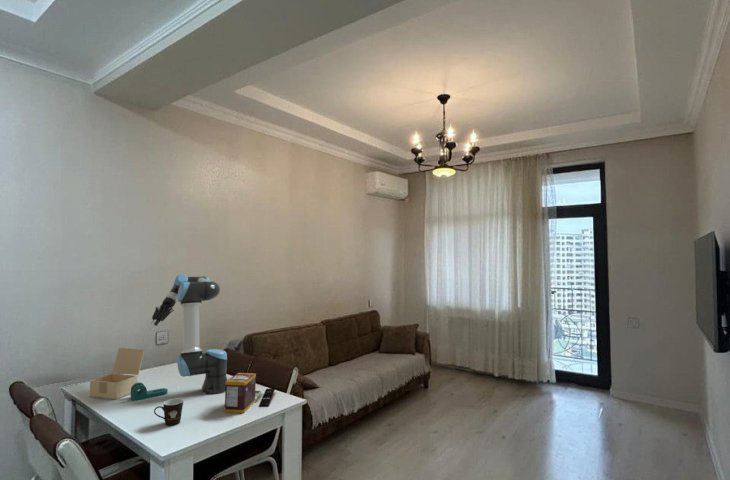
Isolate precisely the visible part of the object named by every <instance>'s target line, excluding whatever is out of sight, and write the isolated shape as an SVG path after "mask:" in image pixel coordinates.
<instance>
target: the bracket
mask: <svg viewBox="0 0 730 480" xmlns="http://www.w3.org/2000/svg"><path fill="white" fill-rule="evenodd" d="M168 391H169V390H168V388H166V387H164V388H163V387H161V388H156V389H150V390H147V387H146V385H145V384H144V383H143V382H138V381H137V383H135V384H134V385H133V386H132V387H131V394H130V397H129V398H130V400H131V401H132V402H136V401H140V400H145V399H152V398H157V397H162V396H166V395H168Z"/></svg>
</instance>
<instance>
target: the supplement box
mask: <svg viewBox="0 0 730 480" xmlns="http://www.w3.org/2000/svg"><path fill="white" fill-rule="evenodd" d="M256 375H257V373H251V372H250V373H249V372H248V373H246V372H245V373H244V372H238V373H236V374H235V375H233V376H232V377H230V378H228V379H227V381H226V384H225V392H224V413H232V414H233V413H237V414H244V413H246V412H245V411H248V410H249V409H250V408H251V407H252V406H253V405H254V404H255V403H256V385H257V384H256V383H257V379H256V378H257V376H256ZM254 402H255V403H254ZM253 403H254V404H253ZM252 404H253V405H252ZM251 405H252V406H251ZM250 406H251V407H250Z"/></svg>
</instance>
